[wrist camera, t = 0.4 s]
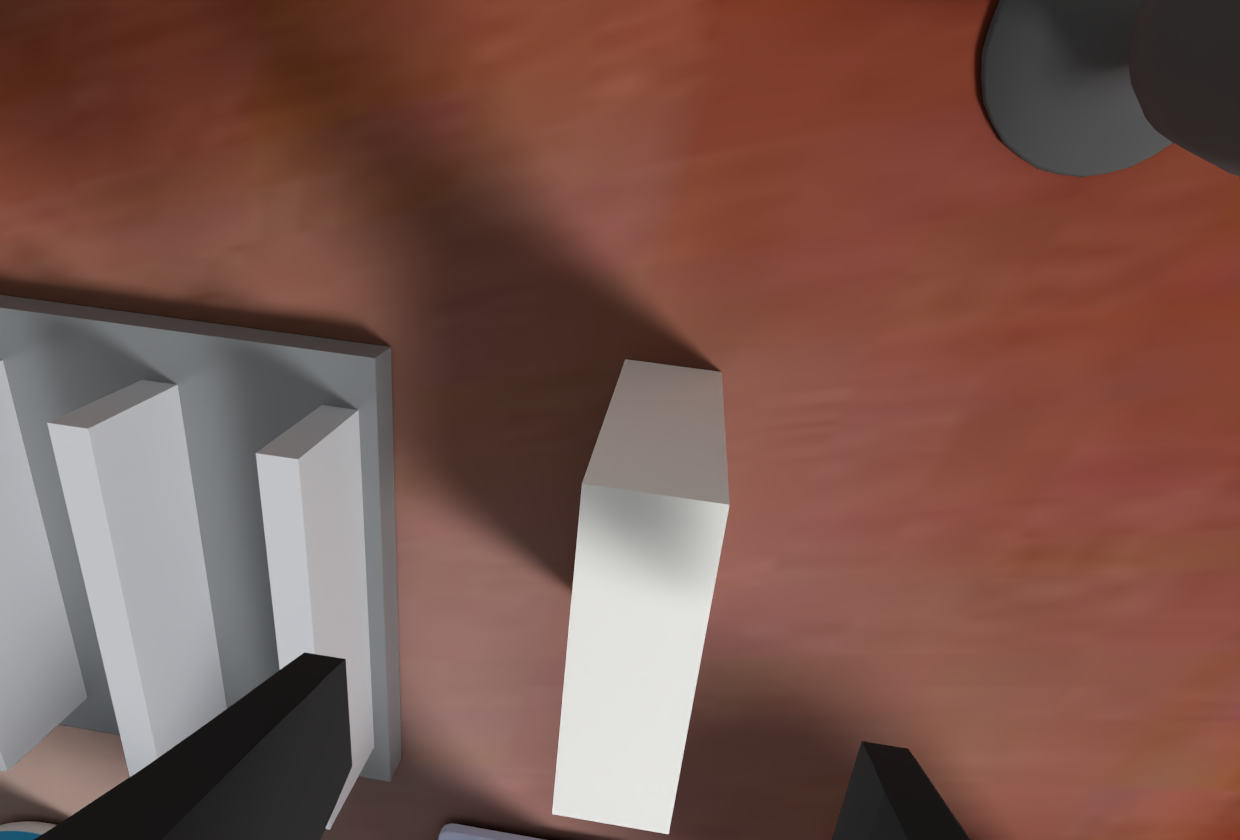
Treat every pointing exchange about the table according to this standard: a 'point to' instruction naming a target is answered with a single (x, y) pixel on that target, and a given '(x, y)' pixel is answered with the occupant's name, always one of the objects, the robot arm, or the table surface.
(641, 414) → the tile
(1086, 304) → the table surface
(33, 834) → the beverage bottle
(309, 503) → the rack
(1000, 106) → the sundae
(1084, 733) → the table surface
